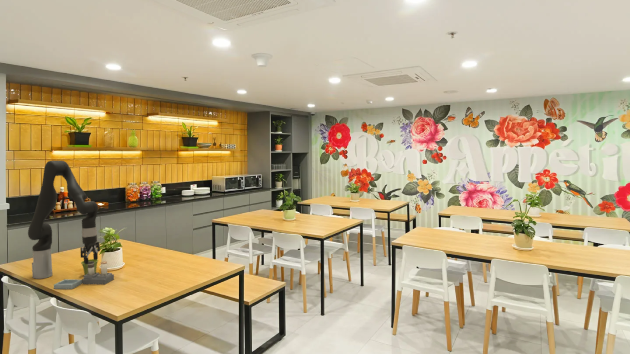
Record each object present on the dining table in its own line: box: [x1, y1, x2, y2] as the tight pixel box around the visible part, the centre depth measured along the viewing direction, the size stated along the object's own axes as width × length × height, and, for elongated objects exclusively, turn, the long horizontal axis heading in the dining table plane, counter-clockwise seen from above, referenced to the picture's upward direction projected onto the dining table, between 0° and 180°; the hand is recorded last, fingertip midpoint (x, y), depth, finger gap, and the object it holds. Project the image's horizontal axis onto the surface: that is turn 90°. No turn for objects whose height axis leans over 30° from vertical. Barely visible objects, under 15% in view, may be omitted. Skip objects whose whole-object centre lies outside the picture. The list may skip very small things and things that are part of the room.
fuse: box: [100, 260, 108, 276], centre depth 224 cm, size 3×3×9 cm
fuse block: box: [81, 272, 115, 285], centre depth 225 cm, size 14×9×4 cm, turn 87°
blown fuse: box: [88, 261, 95, 275], centre depth 225 cm, size 3×3×9 cm
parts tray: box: [53, 278, 83, 290], centre depth 217 cm, size 11×9×3 cm
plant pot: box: [80, 258, 99, 275], centre depth 238 cm, size 9×9×9 cm
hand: (91, 261), depth 224 cm, fingers open, 8 cm apart
